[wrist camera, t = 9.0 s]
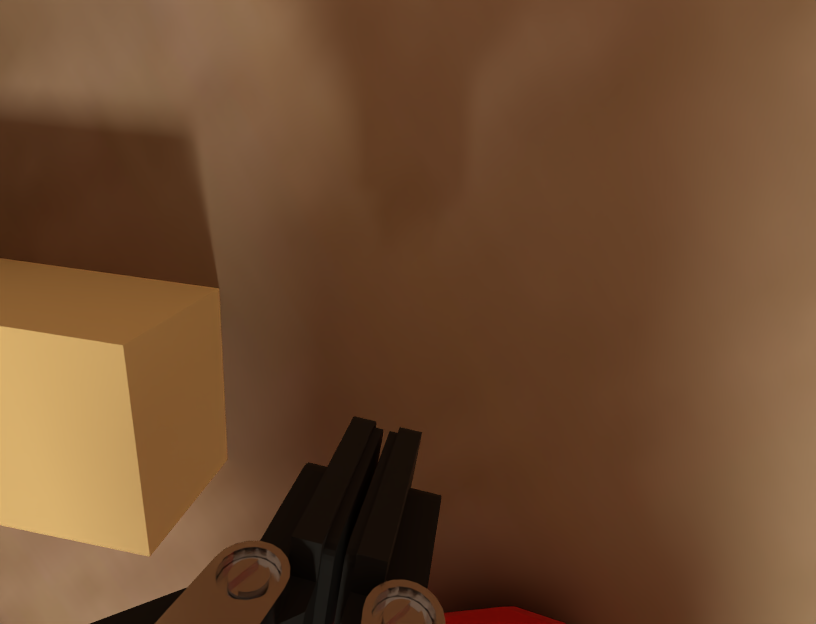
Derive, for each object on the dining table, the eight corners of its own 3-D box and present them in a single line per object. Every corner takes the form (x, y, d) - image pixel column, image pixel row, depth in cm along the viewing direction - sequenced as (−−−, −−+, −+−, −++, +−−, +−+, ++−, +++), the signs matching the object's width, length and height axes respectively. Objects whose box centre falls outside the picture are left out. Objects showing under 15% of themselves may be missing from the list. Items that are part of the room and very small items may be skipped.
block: (222, 286, 17) (123, 345, 13) (230, 456, 20) (150, 556, 15) (-35, 251, 19) (-211, 293, 14) (3, 414, 21) (-135, 496, 17)
